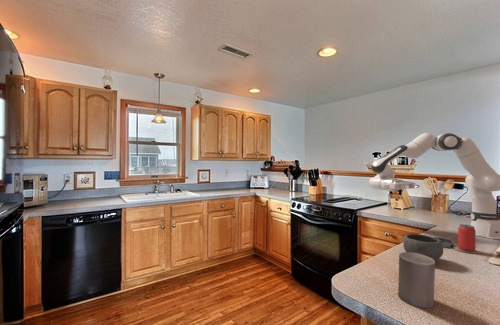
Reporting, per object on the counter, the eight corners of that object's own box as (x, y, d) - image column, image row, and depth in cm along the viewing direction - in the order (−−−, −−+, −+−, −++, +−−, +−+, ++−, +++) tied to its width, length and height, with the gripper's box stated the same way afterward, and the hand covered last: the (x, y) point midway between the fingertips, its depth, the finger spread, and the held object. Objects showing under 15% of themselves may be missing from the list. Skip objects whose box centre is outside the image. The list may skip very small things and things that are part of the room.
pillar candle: (391, 291, 83) (392, 248, 82) (418, 291, 83) (419, 247, 83) (412, 309, 73) (413, 260, 73) (442, 308, 73) (443, 259, 73)
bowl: (432, 269, 101) (432, 245, 101) (396, 256, 114) (396, 235, 114) (449, 262, 107) (450, 240, 107) (414, 251, 121) (414, 231, 121)
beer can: (471, 248, 124) (471, 224, 124) (478, 252, 118) (478, 228, 118) (455, 246, 127) (455, 223, 127) (461, 250, 120) (461, 226, 120)
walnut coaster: (470, 248, 126) (470, 246, 126) (481, 254, 118) (481, 252, 118) (449, 246, 129) (449, 244, 129) (459, 252, 120) (459, 250, 120)
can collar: (447, 242, 135) (447, 238, 135) (457, 248, 125) (457, 243, 125) (427, 241, 137) (427, 236, 137) (435, 246, 128) (435, 242, 128)
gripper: (382, 180, 156) (403, 182, 143) (402, 179, 165) (424, 181, 152) (381, 190, 156) (403, 192, 143) (402, 188, 165) (423, 191, 152)
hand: (414, 186), depth 148 cm, fingers open, 8 cm apart
